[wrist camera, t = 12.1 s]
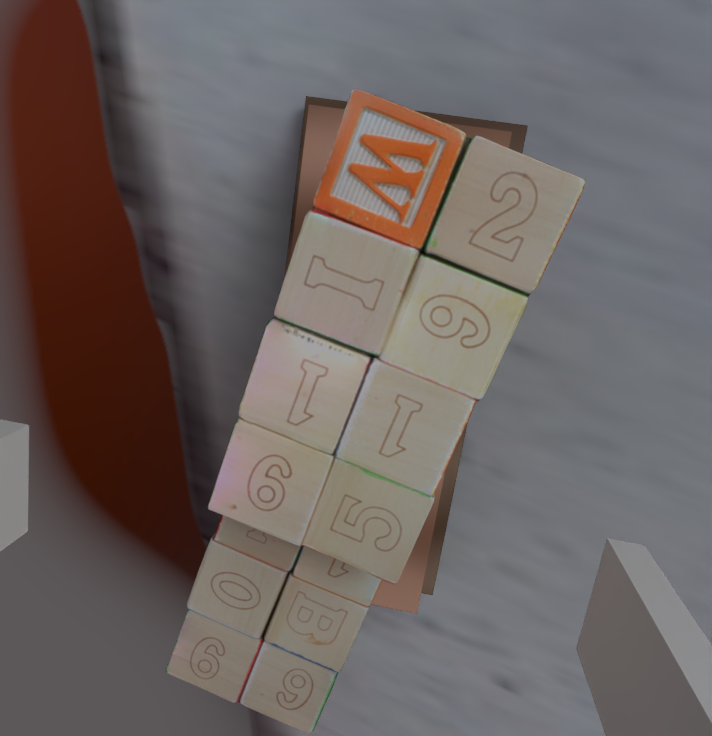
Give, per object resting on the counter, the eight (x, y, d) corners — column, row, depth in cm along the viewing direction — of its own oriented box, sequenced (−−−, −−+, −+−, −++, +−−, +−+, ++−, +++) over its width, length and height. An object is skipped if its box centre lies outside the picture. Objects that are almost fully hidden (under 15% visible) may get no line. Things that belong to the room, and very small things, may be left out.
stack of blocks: (345, 595, 31) (290, 817, 19) (236, 548, 31) (116, 738, 19) (519, 205, 26) (595, 176, 14) (388, 153, 26) (352, 79, 14)
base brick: (312, 103, 31) (289, 77, 26) (522, 131, 30) (540, 110, 25) (258, 545, 37) (231, 591, 32) (432, 580, 36) (432, 634, 31)
